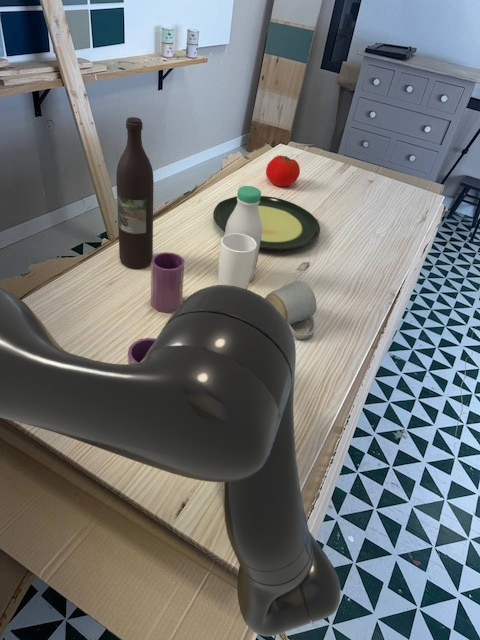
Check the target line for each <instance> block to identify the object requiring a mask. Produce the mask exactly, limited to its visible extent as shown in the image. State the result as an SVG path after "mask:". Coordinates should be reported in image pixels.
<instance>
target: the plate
mask: <svg viewBox="0 0 480 640" xmlns="http://www.w3.org/2000/svg"><path fill="white" fill-rule="evenodd" d="M237 202H238V201H237V195H236V196H232V197H229V198H225V199H223V200H221V201H220V202H218V203H217V204H216V206H215V207H214V209H213V214H212V216H213V221H214V222H215V224H216V225H217V227H218V228H219V229H220V230H221V231H222V232H223V233H225V229H226V224H227V221H228V219H229V217H230V215H231V214H232V212H233V211H234V209H235V207H236V205H237ZM258 211H259V216H260V219H261V223H262V235H261V242H260V247H259V248H261V249H268V250H279V251H280V250H281V251H282V250H283V251H284V250H292V249H293V250H294V249H298V248H303V247H306V246H309V245H311V244H313V243H314V242H315V241H316V240H318V238H319V237H320V234H321V226H320V223H319V221H318V219H317V218H316V217H315V216H314V215H313V214H312V213H311V212H310V211H308V210H307V209H305V208H303V207H302V206H300V205H298V204H295V202H291V201H288V200H285V199H282V198H279V197H273V196H268V195H261V198H260V203H259V204H258Z"/></svg>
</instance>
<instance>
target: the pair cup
mask: <svg viewBox="0 0 480 640" xmlns="http://www.w3.org/2000/svg"><path fill="white" fill-rule="evenodd" d="M156 339H157V338H154V337H144V338H139V339H138V340H136V341H134V342H133V343H132V344H130V346H129V347H128V350H127V364H136V363H139V362H141V361H142V360H143V358H144V357H145V355H146V354H147V352H148V351H149V349H150V348H151V346H152V345H153V343H154V342H155V340H156Z"/></svg>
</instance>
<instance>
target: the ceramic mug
mask: <svg viewBox="0 0 480 640" xmlns="http://www.w3.org/2000/svg"><path fill="white" fill-rule="evenodd" d="M264 298H265V299H266V300H267V301H269V302H270V303H271V304H273V306H274V307H275V308H276V309H277V310H278V311H279V312H280V313H281V314H282V316H283V317H284V319H285V320H286V322H287V323H288V325H289V327H290V329H291V332H292V334H293V337H294V339H297V340H305V339H307V338H309V337H310V336H312V335H313V334H314V332H315V331H316V330H315V329H316V322H315V318H314V315H315V313H316V311H317V299H316V296H315V293H314V291H313V289H312V288H311V286H310V285H309V284H308V283H307V282H305V281H303V280H295V281H293V282H291V283H289V284H286V285H284V286H281V287H280V288H277V289H275V290H272V291H271V292H269V293H268V294H267V295H266V296H265V297H264ZM303 320H307V321H308V322H309V326H310V331H309V332H308V333H306V334H305V333H299V332H297V331H295V329H294V328H293V327H292V325H293V324H295V323H299V322H301V321H303Z"/></svg>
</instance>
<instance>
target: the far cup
mask: <svg viewBox="0 0 480 640" xmlns="http://www.w3.org/2000/svg"><path fill="white" fill-rule="evenodd" d="M185 263H186V262H185V259H184V257H183V256H181V255H180V254H177V253H175V252H167V251H165V252H159V253H157V254H155V255H153V258H152V261H151V264H150V265H151V266H150V305H151V307H152V308H153V309H154V310H155V311H157V312H160V313H165V314H170V313H174V312H175V311H176V309H177V308H178V307H179V306H180V305H181V304H182V303H183V291H184V290H183V289H184V276H185Z"/></svg>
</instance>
